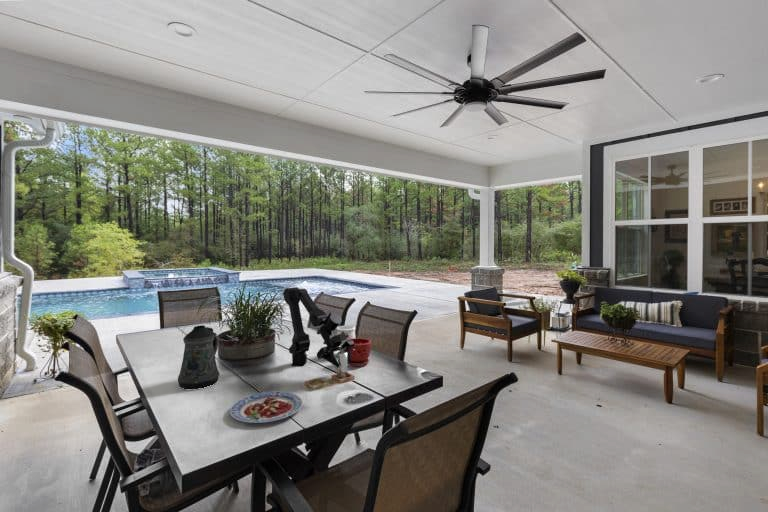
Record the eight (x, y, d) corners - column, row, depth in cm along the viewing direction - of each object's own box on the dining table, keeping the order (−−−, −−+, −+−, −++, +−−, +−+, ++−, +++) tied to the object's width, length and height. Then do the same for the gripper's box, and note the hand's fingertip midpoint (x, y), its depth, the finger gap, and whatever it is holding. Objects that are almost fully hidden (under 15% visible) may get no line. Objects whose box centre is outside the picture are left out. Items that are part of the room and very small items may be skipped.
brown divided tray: (310, 392, 156) (310, 387, 156) (302, 386, 163) (302, 381, 163) (356, 381, 169) (356, 376, 169) (346, 375, 176) (346, 371, 176)
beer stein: (173, 392, 157) (171, 332, 156) (184, 376, 176) (183, 322, 175) (216, 388, 161) (215, 330, 160) (222, 372, 180) (221, 320, 179)
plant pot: (367, 368, 185) (367, 344, 185) (342, 367, 188) (341, 343, 187) (373, 360, 198) (373, 337, 198) (349, 358, 201) (349, 336, 200)
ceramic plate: (276, 391, 159) (276, 384, 158) (316, 409, 142) (316, 401, 142) (216, 412, 139) (216, 404, 139) (255, 436, 122) (255, 427, 122)
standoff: (338, 381, 167) (338, 354, 167) (336, 378, 171) (336, 351, 171) (348, 380, 169) (348, 353, 168) (346, 376, 173) (346, 351, 172)
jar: (354, 357, 203) (354, 329, 203) (335, 357, 204) (335, 329, 203) (356, 351, 214) (356, 325, 213) (338, 351, 214) (338, 325, 213)
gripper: (320, 329, 165) (337, 360, 158) (351, 322, 178) (368, 350, 172) (309, 344, 170) (325, 374, 163) (341, 336, 184) (356, 363, 177)
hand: (344, 365), depth 169 cm, fingers open, 7 cm apart
